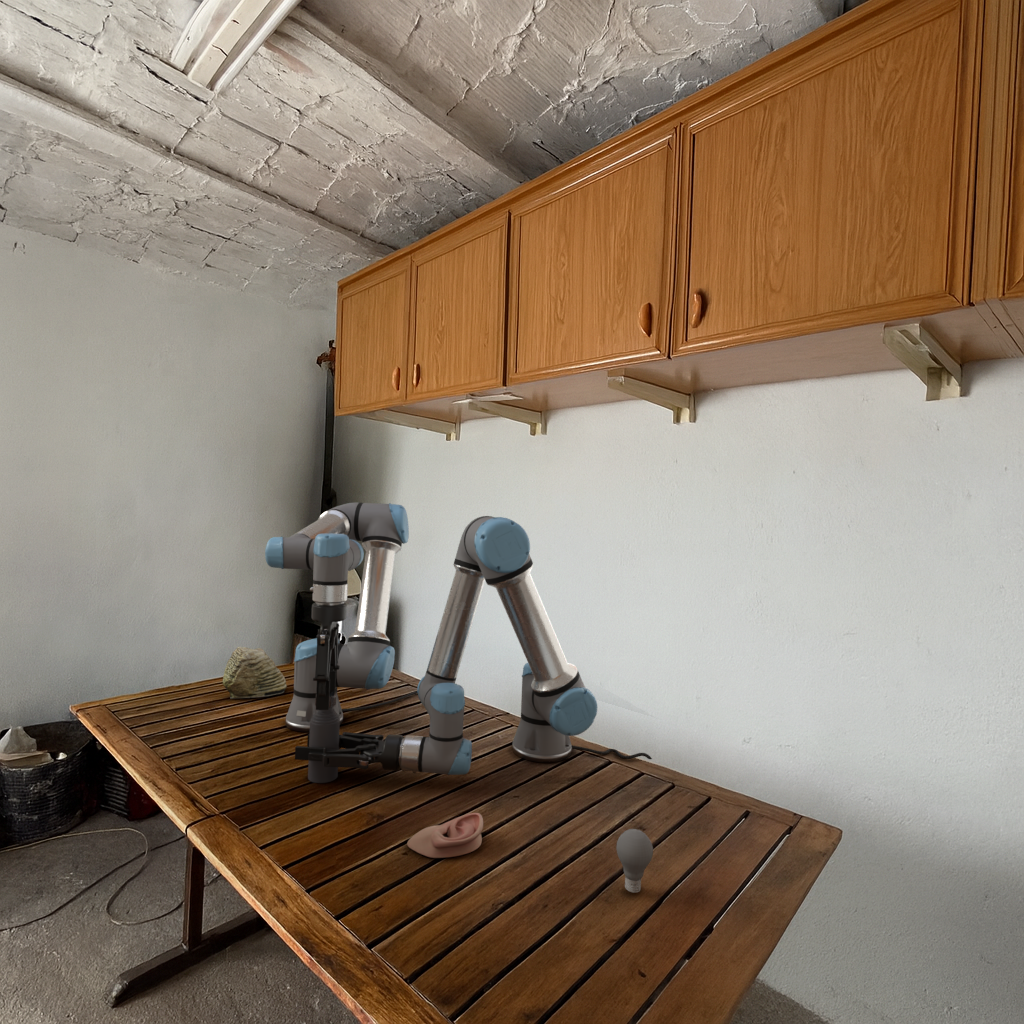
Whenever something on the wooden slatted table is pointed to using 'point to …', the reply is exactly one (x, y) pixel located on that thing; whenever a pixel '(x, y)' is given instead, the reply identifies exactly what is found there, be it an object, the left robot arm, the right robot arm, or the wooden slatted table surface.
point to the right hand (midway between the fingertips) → (302, 746)
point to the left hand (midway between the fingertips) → (325, 703)
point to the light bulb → (634, 857)
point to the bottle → (323, 743)
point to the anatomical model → (449, 837)
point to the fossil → (252, 674)
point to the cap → (331, 699)
